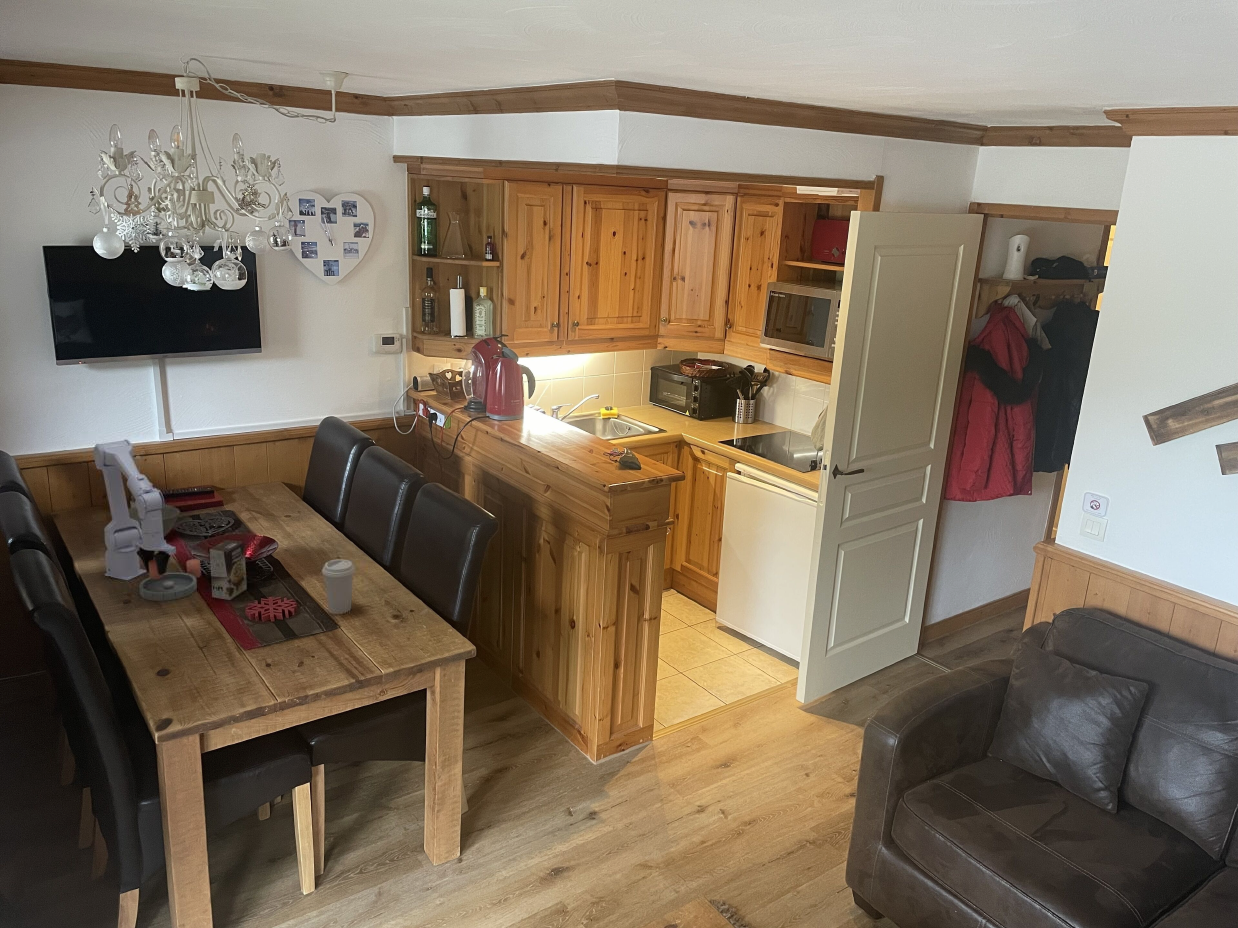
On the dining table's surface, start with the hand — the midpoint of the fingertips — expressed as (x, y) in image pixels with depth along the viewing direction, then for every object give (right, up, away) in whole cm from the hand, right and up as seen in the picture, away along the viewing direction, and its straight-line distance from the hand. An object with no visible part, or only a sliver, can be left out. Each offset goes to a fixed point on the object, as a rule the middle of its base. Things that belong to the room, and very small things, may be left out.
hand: (156, 572), depth 280 cm
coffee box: (+20, -8, +7) cm, 22 cm away
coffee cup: (+56, -12, 0) cm, 57 cm away
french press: (-35, +12, +62) cm, 72 cm away
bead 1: (0, -1, +1) cm, 1 cm away
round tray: (+1, -6, +6) cm, 9 cm away
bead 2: (+3, -3, +17) cm, 18 cm away
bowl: (-24, +6, +45) cm, 51 cm away
